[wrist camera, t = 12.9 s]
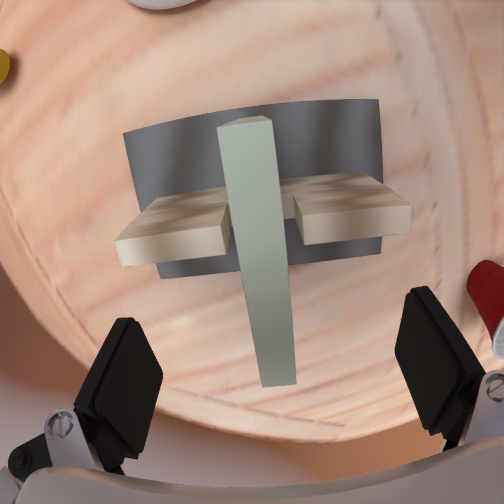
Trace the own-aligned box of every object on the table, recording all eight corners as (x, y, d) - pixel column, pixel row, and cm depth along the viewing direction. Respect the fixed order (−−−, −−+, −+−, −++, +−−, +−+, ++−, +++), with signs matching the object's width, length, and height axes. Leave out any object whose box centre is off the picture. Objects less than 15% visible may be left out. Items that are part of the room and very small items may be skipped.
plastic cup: (471, 236, 31) (528, 285, 20) (513, 249, 31) (562, 292, 21) (440, 305, 35) (480, 364, 25) (484, 309, 36) (522, 358, 25)
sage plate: (239, 118, 24) (216, 127, 10) (262, 115, 24) (271, 119, 10) (259, 259, 31) (262, 387, 16) (279, 257, 30) (296, 383, 16)
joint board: (372, 99, 24) (435, 99, 14) (376, 247, 32) (420, 309, 21) (128, 132, 26) (64, 149, 16) (164, 272, 33) (131, 341, 23)
